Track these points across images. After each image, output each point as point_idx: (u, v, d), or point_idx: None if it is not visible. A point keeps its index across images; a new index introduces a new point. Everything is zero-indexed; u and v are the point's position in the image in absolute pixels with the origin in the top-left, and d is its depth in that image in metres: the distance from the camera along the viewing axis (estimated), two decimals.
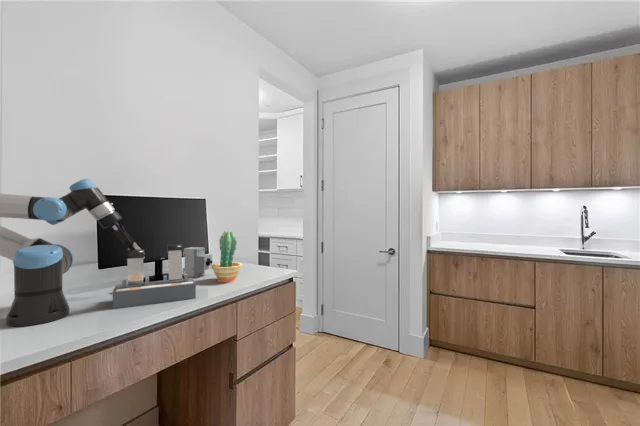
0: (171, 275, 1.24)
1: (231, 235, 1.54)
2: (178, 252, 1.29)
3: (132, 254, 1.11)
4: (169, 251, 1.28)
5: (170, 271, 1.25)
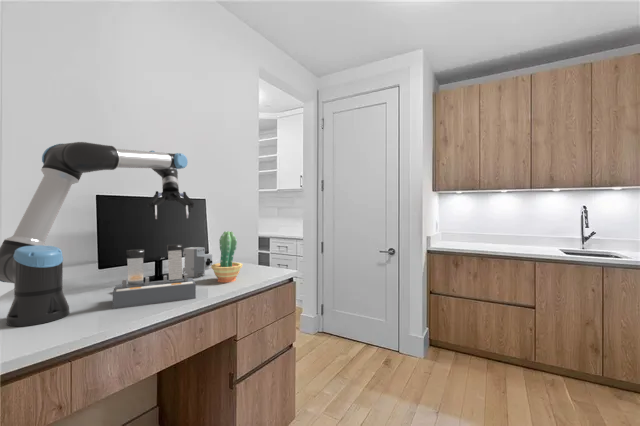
0: (171, 275, 1.24)
1: (231, 235, 1.54)
2: (178, 252, 1.29)
3: (132, 254, 1.11)
4: (169, 251, 1.28)
5: (170, 271, 1.25)
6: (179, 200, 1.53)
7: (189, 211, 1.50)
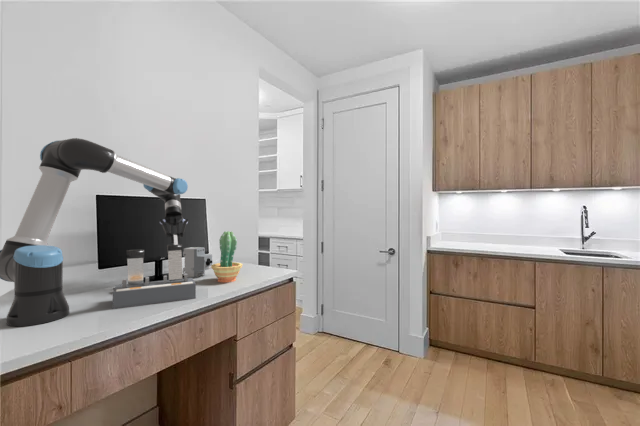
0: (171, 275, 1.24)
1: (231, 235, 1.54)
2: (178, 252, 1.29)
3: (132, 254, 1.11)
4: (169, 251, 1.28)
5: (170, 271, 1.25)
6: (176, 226, 1.48)
7: (178, 241, 1.42)
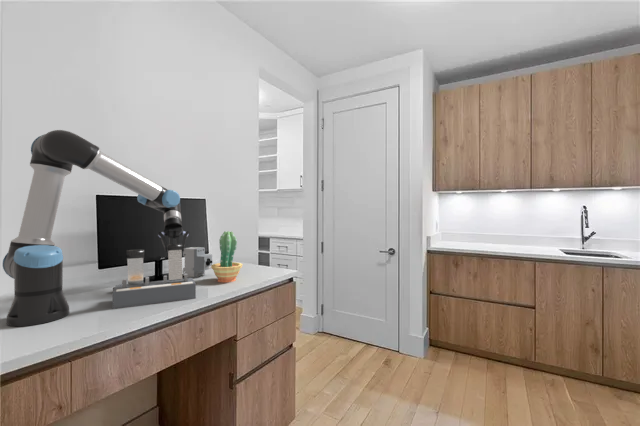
0: (171, 276, 1.24)
1: (231, 235, 1.54)
2: (178, 251, 1.28)
3: (132, 254, 1.11)
4: (169, 251, 1.27)
5: (170, 271, 1.24)
6: (175, 239, 1.37)
7: None
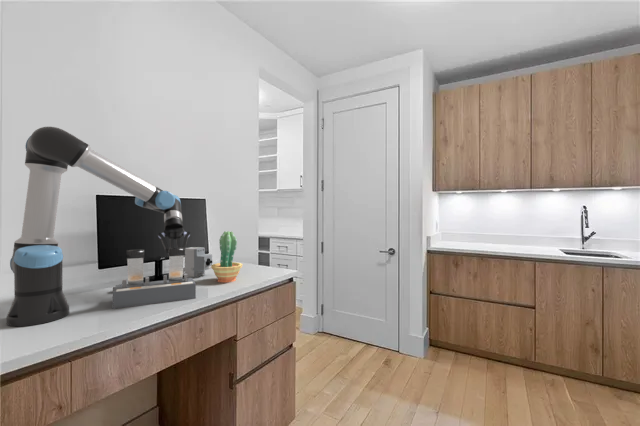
0: (171, 278, 1.23)
1: (231, 235, 1.54)
2: (180, 257, 1.21)
3: (132, 254, 1.11)
4: (170, 257, 1.19)
5: (170, 274, 1.22)
6: (176, 240, 1.32)
7: None
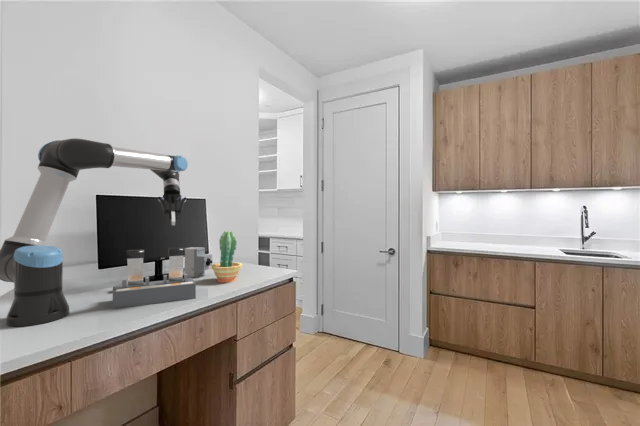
0: (171, 278, 1.23)
1: (231, 235, 1.54)
2: (180, 257, 1.21)
3: (132, 254, 1.11)
4: (170, 257, 1.19)
5: (170, 274, 1.22)
6: (174, 204, 1.49)
7: (176, 218, 1.43)
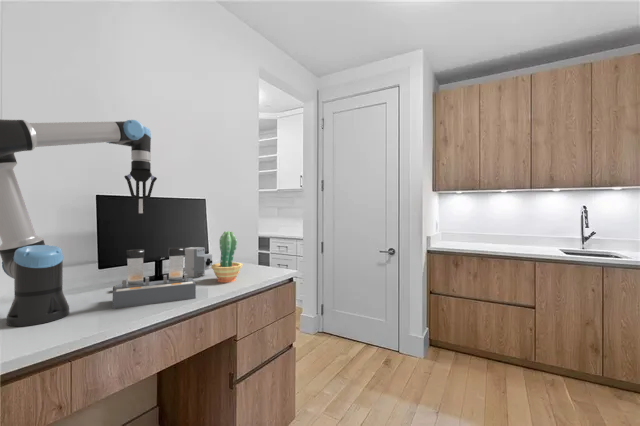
0: (171, 278, 1.23)
1: (231, 235, 1.54)
2: (180, 257, 1.21)
3: (132, 254, 1.11)
4: (170, 257, 1.19)
5: (170, 274, 1.22)
6: None
7: (144, 205, 1.39)
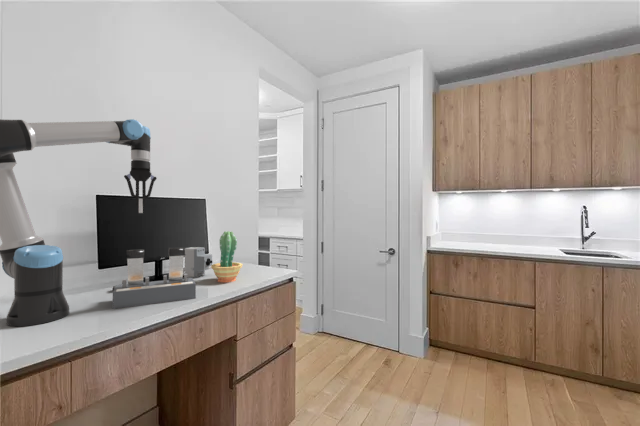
0: (171, 278, 1.23)
1: (231, 235, 1.54)
2: (180, 257, 1.21)
3: (132, 254, 1.11)
4: (170, 257, 1.19)
5: (170, 274, 1.22)
6: None
7: None
